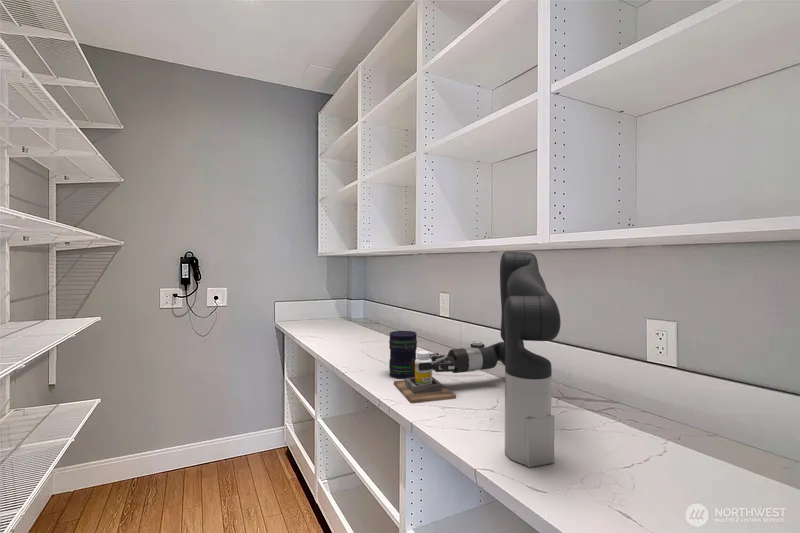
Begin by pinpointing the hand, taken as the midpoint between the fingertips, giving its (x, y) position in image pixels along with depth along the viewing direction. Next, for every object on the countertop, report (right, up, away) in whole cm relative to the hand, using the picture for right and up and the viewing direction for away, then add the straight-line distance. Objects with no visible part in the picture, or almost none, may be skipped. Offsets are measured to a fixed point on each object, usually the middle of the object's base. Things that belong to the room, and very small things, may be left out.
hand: (415, 364), depth 121 cm
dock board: (+2, -8, +1) cm, 9 cm away
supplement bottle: (+3, -6, +1) cm, 7 cm away
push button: (+25, -8, +26) cm, 37 cm away
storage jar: (-4, -8, +18) cm, 20 cm away
